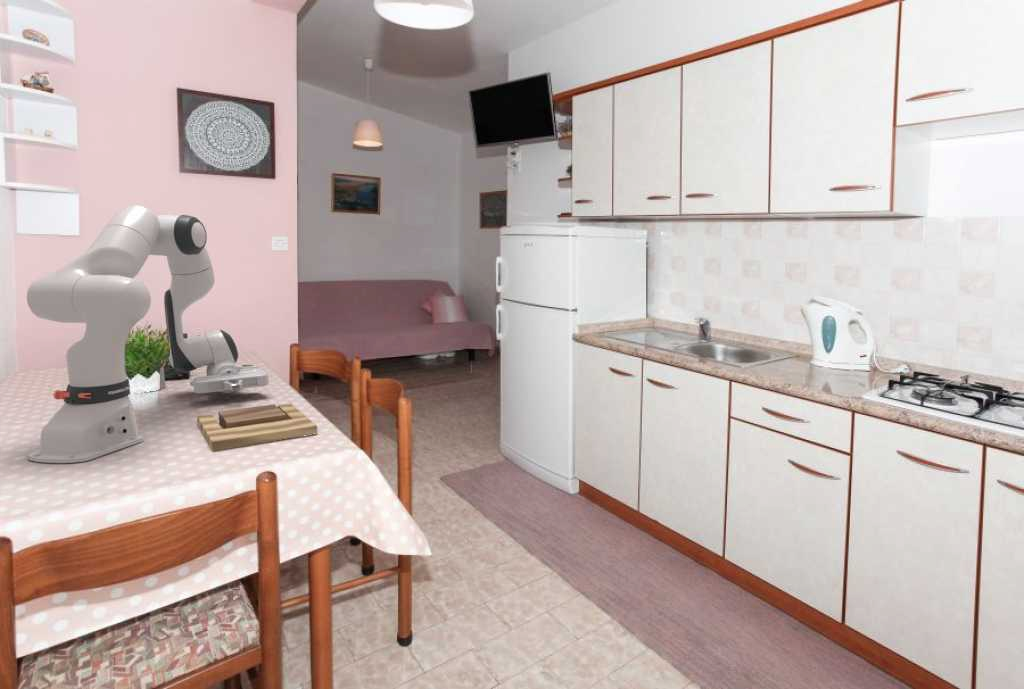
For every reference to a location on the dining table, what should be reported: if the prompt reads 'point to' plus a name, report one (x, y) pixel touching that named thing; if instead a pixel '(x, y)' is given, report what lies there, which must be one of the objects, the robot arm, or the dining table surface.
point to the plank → (250, 416)
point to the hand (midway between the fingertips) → (235, 387)
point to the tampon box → (172, 373)
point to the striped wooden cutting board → (256, 430)
